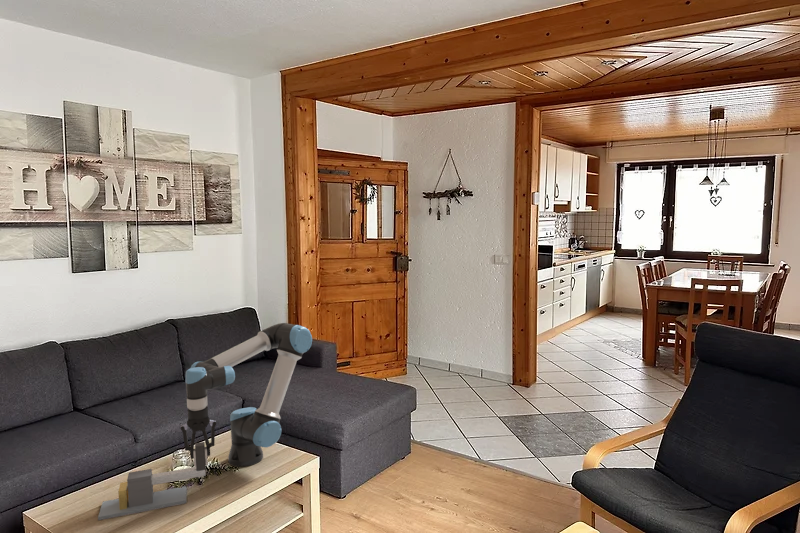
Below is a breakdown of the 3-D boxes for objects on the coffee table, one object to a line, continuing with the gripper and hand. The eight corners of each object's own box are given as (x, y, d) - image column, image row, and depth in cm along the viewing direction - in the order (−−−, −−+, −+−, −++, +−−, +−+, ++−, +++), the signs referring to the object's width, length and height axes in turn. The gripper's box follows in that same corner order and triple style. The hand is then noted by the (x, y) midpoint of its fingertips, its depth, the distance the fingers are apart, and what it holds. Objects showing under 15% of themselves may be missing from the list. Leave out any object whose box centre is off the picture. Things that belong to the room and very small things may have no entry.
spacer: (129, 499, 211) (127, 481, 210) (127, 508, 204) (125, 490, 204) (121, 500, 210) (120, 482, 210) (119, 509, 204) (118, 491, 203)
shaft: (206, 471, 219) (204, 441, 218) (206, 475, 216) (204, 445, 215) (133, 484, 210) (131, 453, 208) (132, 489, 206) (130, 457, 205)
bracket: (186, 488, 221) (184, 460, 220) (186, 503, 210) (184, 472, 209) (103, 504, 210) (100, 474, 209) (98, 520, 199) (95, 488, 198)
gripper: (219, 401, 221) (222, 457, 223) (175, 407, 215) (178, 464, 217) (220, 407, 214) (223, 465, 216) (174, 413, 208) (178, 472, 210)
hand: (201, 464), depth 216 cm, fingers closed on shaft, 3 cm apart
